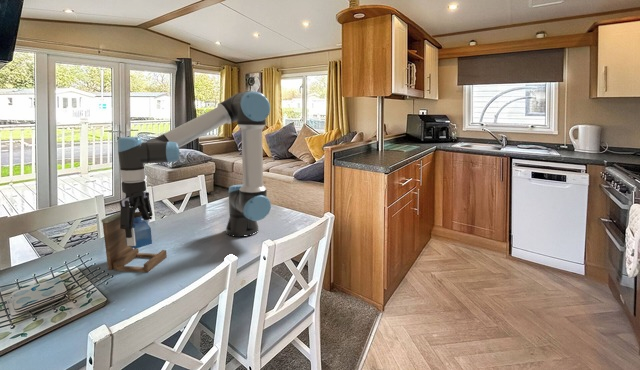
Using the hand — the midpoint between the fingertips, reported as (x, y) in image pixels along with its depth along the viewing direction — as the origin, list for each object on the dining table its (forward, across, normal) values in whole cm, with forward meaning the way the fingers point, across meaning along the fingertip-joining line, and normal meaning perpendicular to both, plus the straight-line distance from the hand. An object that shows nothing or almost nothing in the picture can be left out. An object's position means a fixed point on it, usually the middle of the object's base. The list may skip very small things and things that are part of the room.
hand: (139, 240), depth 125 cm
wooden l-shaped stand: (+9, 0, -1) cm, 9 cm away
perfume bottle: (+2, 0, 0) cm, 2 cm away
